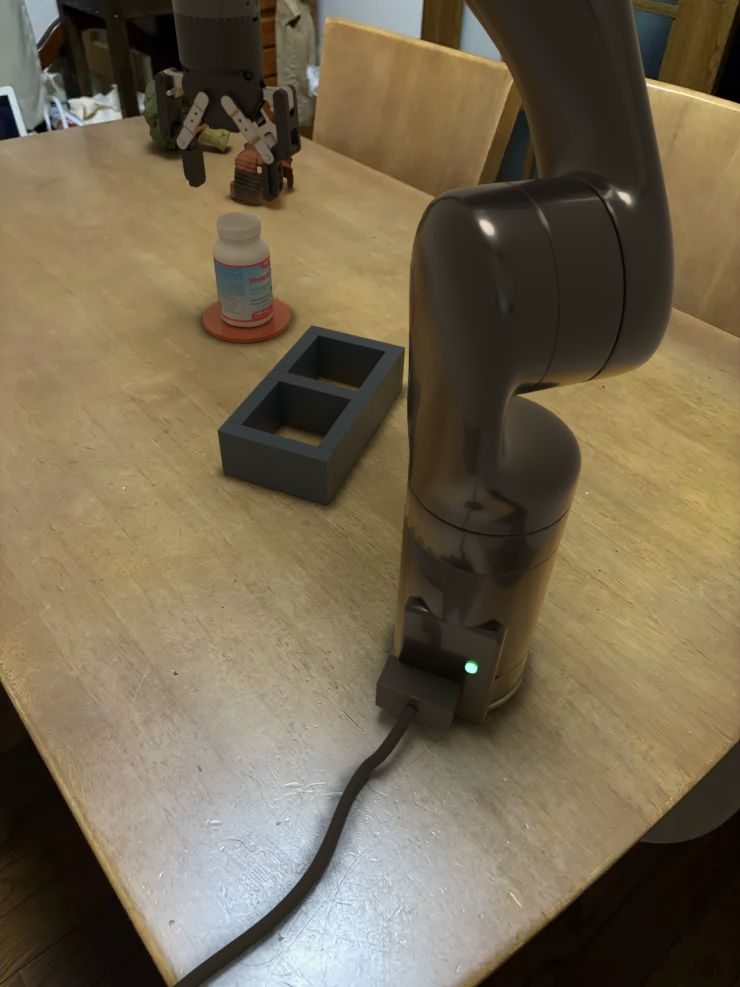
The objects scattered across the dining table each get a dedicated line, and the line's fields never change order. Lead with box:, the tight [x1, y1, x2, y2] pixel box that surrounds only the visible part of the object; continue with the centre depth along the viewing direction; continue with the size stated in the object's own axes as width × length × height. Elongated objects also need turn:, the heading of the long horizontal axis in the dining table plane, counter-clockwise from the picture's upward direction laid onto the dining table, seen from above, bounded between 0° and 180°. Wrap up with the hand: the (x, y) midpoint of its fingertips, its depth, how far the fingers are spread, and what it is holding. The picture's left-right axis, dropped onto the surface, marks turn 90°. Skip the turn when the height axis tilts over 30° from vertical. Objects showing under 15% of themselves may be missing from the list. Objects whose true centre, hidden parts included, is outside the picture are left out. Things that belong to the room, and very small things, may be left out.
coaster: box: [202, 297, 292, 344], centre depth 86 cm, size 10×10×1 cm
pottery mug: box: [229, 141, 295, 206], centre depth 111 cm, size 12×10×8 cm
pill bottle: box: [212, 211, 274, 327], centre depth 82 cm, size 6×6×11 cm
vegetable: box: [143, 70, 231, 152], centre depth 124 cm, size 12×13×15 cm
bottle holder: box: [217, 324, 406, 506], centre depth 71 cm, size 19×10×5 cm, turn 158°
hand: (234, 191), depth 76 cm, fingers open, 8 cm apart
